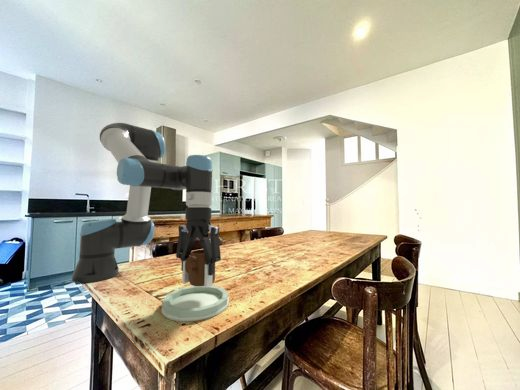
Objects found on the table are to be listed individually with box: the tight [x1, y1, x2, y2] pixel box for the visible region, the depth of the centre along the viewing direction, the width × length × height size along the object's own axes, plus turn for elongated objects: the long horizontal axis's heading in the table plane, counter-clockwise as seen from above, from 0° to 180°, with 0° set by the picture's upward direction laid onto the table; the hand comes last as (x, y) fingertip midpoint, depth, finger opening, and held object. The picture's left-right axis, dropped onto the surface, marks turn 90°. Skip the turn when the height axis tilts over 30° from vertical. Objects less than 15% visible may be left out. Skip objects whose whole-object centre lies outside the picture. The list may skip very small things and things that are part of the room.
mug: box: [185, 248, 216, 286], centre depth 63 cm, size 12×8×9 cm, turn 164°
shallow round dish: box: [161, 284, 230, 323], centre depth 63 cm, size 19×19×2 cm
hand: (197, 284), depth 63 cm, fingers closed on mug, 7 cm apart
